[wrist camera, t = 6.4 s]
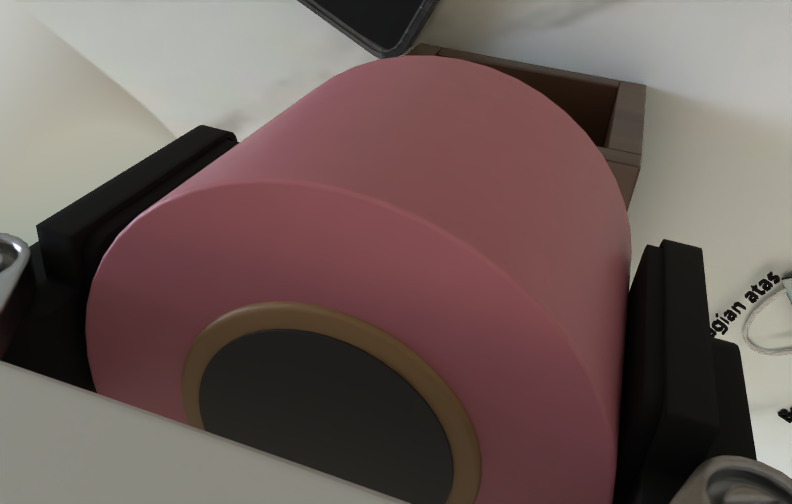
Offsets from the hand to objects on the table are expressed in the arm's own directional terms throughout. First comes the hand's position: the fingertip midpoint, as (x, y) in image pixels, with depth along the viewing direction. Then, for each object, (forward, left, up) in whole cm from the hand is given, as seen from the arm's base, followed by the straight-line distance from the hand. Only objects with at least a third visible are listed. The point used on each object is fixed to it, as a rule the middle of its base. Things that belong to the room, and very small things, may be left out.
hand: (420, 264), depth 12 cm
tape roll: (0, 0, -1) cm, 1 cm away
